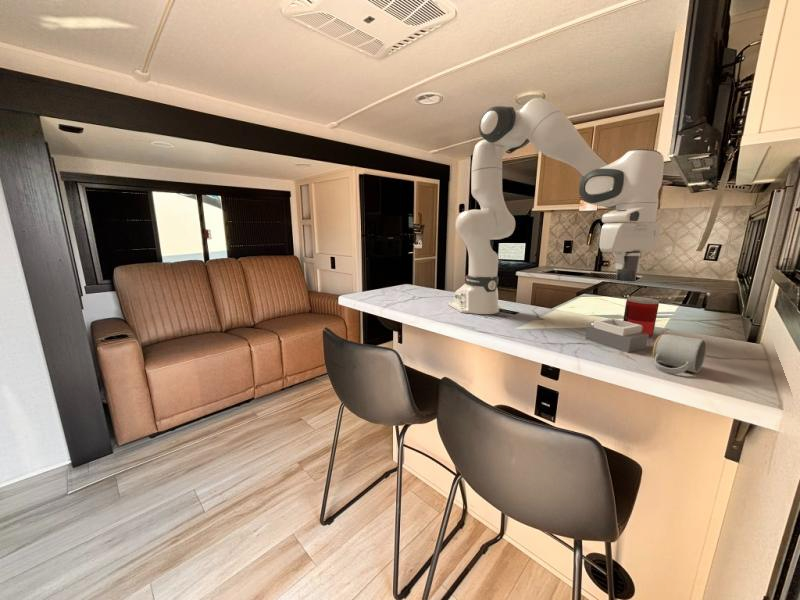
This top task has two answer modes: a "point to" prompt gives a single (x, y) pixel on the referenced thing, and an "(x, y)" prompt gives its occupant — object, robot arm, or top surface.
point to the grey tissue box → (617, 334)
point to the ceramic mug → (679, 353)
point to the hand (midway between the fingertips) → (626, 268)
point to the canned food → (642, 313)
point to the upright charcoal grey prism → (629, 267)
